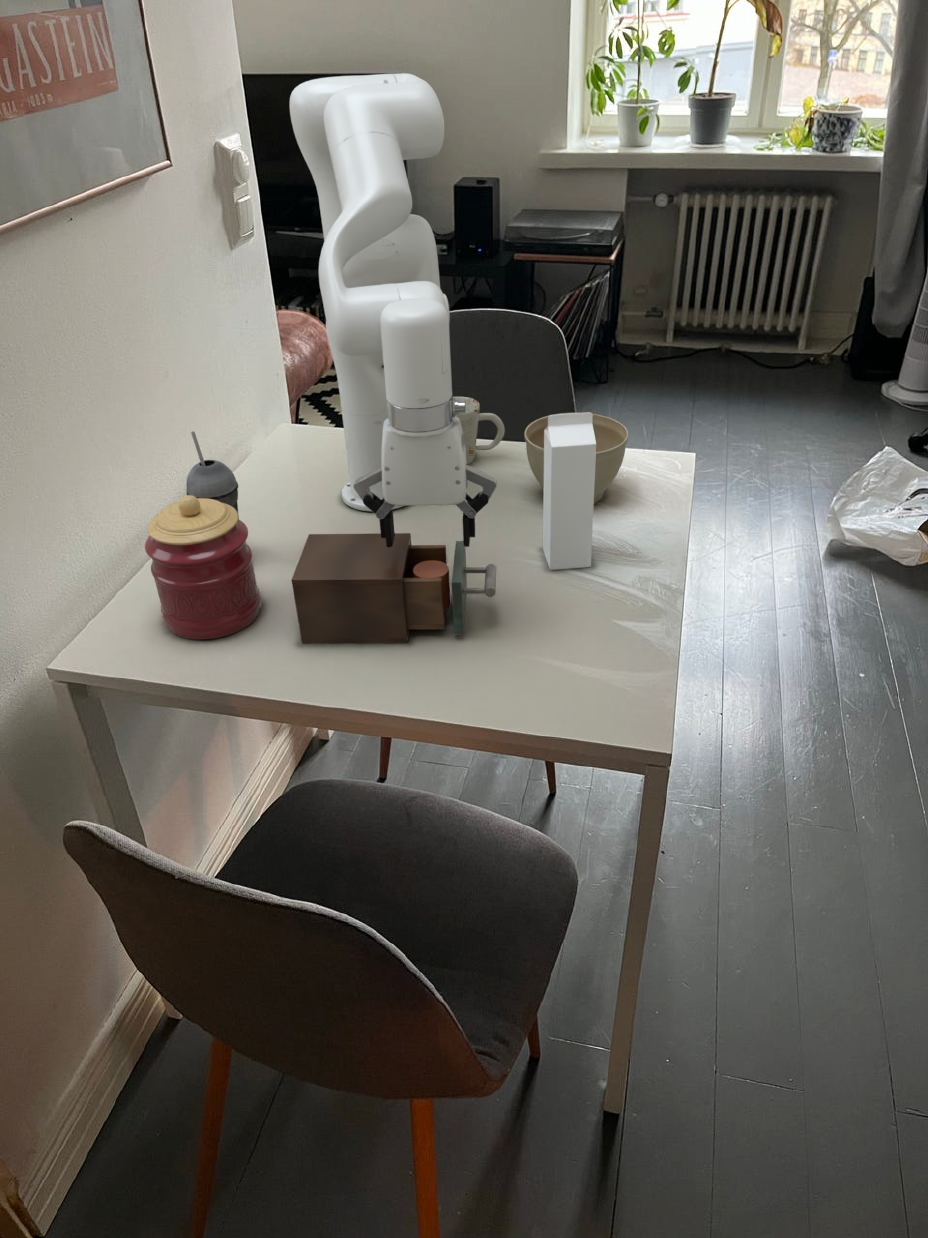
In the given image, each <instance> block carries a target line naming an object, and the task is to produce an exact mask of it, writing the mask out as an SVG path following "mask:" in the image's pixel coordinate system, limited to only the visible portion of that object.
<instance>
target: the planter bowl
mask: <svg viewBox="0 0 928 1238" xmlns="http://www.w3.org/2000/svg"><path fill="white" fill-rule="evenodd" d="M573 413H574V412H563V413H561V412H560V413H555V414H553V415H560V414H573ZM592 415H593V417H592V424H593V429H594V435H595V440H596V460H595V483H594V504H595V503H597V502H599V501H600V500H601V499H602V498H603V497H604V493H605V491H606V489H607V488H609V486H610V485H611V484H612V483H613V481H614V480H615V478H616V477H617V475H618V473H619V471H620V469H621V467H622V464H623V462H624V459H625V454H626V453H625V452H626V446H627V444H628V440H629V431H628V429H627V428H626V426H625V425H624V424H623V423H621V422H619V420H616V419H614V418H612V417H609V416H606V415H605V416H604V415H601V414H596V413H592ZM549 416H550V415H546V416H543V417H540V418H538V419H536V420H534V421H532V422H530V423H529V424H528V425H527V426H526V428H525V430H524V434H523V435H524V441H525V447H526V457H527V461H528V465H529V467H530V470H531V472H532V474H533V476H534V478H535V480H536V482H538V484H539V485H540V487H541V488H542V489H543V490H544V430H545V429H546V428H547V427H548V417H549Z"/></svg>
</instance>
